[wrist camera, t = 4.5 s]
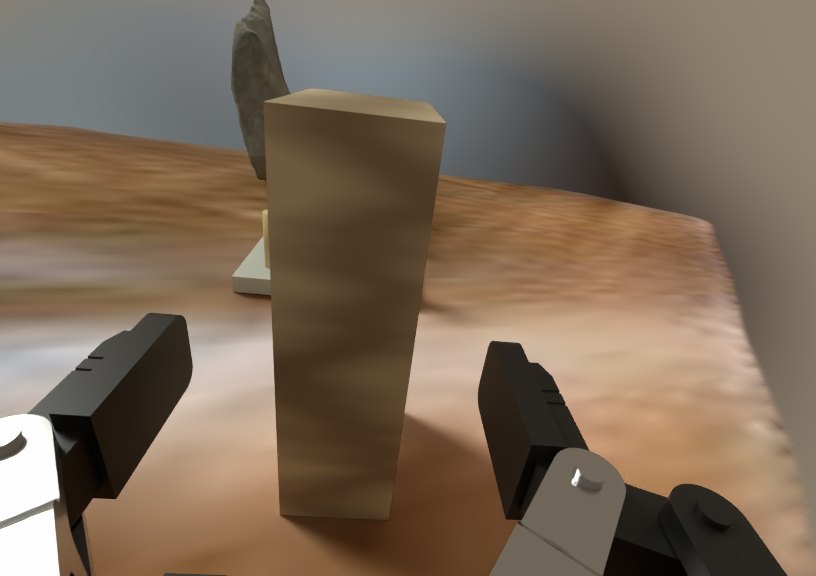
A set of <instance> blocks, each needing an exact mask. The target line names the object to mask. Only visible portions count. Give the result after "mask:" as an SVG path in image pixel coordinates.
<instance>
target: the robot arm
mask: <svg viewBox="0 0 816 576" xmlns="http://www.w3.org/2000/svg"><path fill="white" fill-rule="evenodd" d="M192 368H193V365H192V357H191V350H190V344H189V337H188V331H187V324H186V320H185V318H184V317H183V316H182V315H172V314H159V313H149V314H147V315H146V316H145V317H144V318H143V319H142V320H141V321H140V322H139V323H138V324H137V325H136V326H135V327H134V328H133V329H132V330H131V331H122V332H121V333H119V334H117V335H115V336H113V337H111V338H109V339H107V340H106V341H104V342H102V343H101V344H100V345H99V346H98V347H97V348H96V349H95V350H94V351H93V352H92V353H91V354H90V355H89V356H88V359H84V360H83V361H82V362H81V363H80V364H79V365H78V366H77V367H76V370H75V371H72V372H71V373H70V374H69V375H68V376H67V377H66V378H64V379H63V380H62V381H61V382H60V383H59V384H58V385H57V386H56V387H55V388H54V389H53V390H52V391H51V392H50V393H49V394H48V395H47V396H46V397H45V398H43V399H42V400H41V401H40V402H39V403H38V404H37V405H36V406H35V407H34V408H33V409H32V410H31V411H30V412H29V413H28V414H25V415H16V416H10V417H6V418H3V419H0V576H95V571H94V565H93V558H92V552H91V546H90V540H89V533H88V527H87V521H86V517H85V514H84V510H85V509H86V507H87V506H88V504H89V503H90V502H91V500H92V499H93V498H103V499H116V498H117V497H118V495H119V494H120V492H121V490H122V489H123V487H124V486H125V484H126V483H127V481H128V480H129V478H130V476H131V475H132V473H133V472H134V470H135V469H136V467H137V466H138V464H139V462H140V461H141V459H142V458H143V456H144V455H145V453H146V452H147V450H148V448H149V447H150V445H151V444H152V442H153V441H154V439H155V437H156V436H157V434H158V433H159V431H160V430H161V428H162V427H163V425H164V423H165V422H166V420H167V419H168V417H169V416H170V414H171V413H172V411H173V409H174V408H175V406H176V405H177V403H178V402H179V400H180V398H181V397H182V395H183V394H184V392H185V391H186V389H187V387H188V385H189V383H190V380H191V376H192ZM478 406H479V411H480V415H481V419H482V423H483V428H484V432H485V436H486V440H487V444H488V448H489V452H490V456H491V460H492V465H493V469H494V473H495V477H496V481H497V485H498V489H499V493H500V498H501V502H502V506H503V510H504V514H505V518H506V519H509V520H522V521H521V522H520V521H519V522H518V523H517V525H516V526H515V528H514V530H513V532H512V534H511V535H510V537H509V539H508V541H507V543H506V545H505V547H504V549H503V551H502V553H501V554H500V556H499V558H498V560H497V562H496V564H495V566H494V568H493V570H492V571H491V573H490V575H489V576H787V575H786V573H785V572H784V570H783V569H782V568H781V566H780V565H779V563H778V562H777V561H776V559H775V558H774V556H773V555H772V554H771V552H770V551H769V549H768V548H767V547H766V545H765V544H764V542H763V541H762V540H761V538H760V537H759V535H758V534H757V533H756V531H755V530H754V528H753V527H752V526H751V524H750V523H749V521H748V520H747V519H746V517H745V516H744V515H743V514H742V513H741V512H740V511H739V510H738V509H737V508H736V507H735V506H734V505H733V504H732V503H731V502H729V501H728V500H726V499H725V498H724V497H722V496H721V495H719V494H717V493H715V492H713V491H712V490H709V489H707V488H705V487H702V486H698V485H694V484H681V485H678V486H676V487H675V488H674V489H673V490H672V492H671V493H670V495H669V497H668V498H667V497H664V496H661V495H658V494H655V493H651V492H648V491H645V490H642V489H639V488H636V487H633V486H631V485H628V484H626V483H624V481H623V479H622V477H621V475H620V474H619V472H618V471H617V470H616V469H615V467H614V466H613V465H611V464H610V463H609V462H608V461H607V460H605V459H604V458H603V457H601V456H599V455H597V454H595V453H593V452H591V451H589V449H588V447H587V445H586V443H585V441H584V439H583V437H582V435H581V433H580V431H579V429H578V427H577V425H576V423H575V421H574V419H573V417H572V415H571V413H570V411H569V409H568V407H567V406H565V401H564V399H563V397H562V395H561V394H559V389H558V387H557V385H556V383H555V381H554V379H553V377H552V376H551V375H550V374H549V373H548V372H547V371H546V370H545V369H544V368H543V367H542V366H541V365H540V364H539V363H530V362H529V361H528V359H527V357H526V355H525V352H524V350H523V348H522V346H521V344H520V343H511V342H499V341H491V343H490V344H489V347H488V351H487V355H486V359H485V363H484V367H483V371H482V375H481V379H480V383H479V389H478ZM164 576H226V575H201V574H173V573H165V574H164Z"/></svg>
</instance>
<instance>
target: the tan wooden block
mask: <svg viewBox="0 0 816 576" xmlns="http://www.w3.org/2000/svg"><path fill="white" fill-rule="evenodd" d="M263 107H264V132H265V157H266V181H267V206H268V231H269V256H270V281H271V306H272V330H273V355H274V380H275V405H276V430H277V455H278V479H279V504H280V515H290V516H310V517H331V518H351V519H371V520H389V515H390V508H391V501H392V494H393V487H394V480H395V473H396V467H397V460H398V453H399V446H400V439H401V432H402V425H403V418H404V411H405V404H406V397H407V391H408V384H409V377H410V370H411V363H412V356H413V349H414V342H415V335H416V328H417V322H418V315H419V308H420V301H421V294H422V287H423V280H424V273H425V266H426V259H427V253H428V246H429V239H430V232H431V225H432V218H433V211H434V204H435V197H436V190H437V184H438V177H439V170H440V163H441V156H442V149H443V142H444V134H445V128H446V122H445V121H444V120H443V119H442V118H441V117H440V116H439V114H438V113H437V112H436V111H435V110H434V108H433V107H432V106H431V105H430V104H429V103H428V102H420V101H412V100H404V99H396V98H387V97H379V96H371V95H362V94H354V93H346V92H338V91H330V90H322V89H313V88H312V89H308V90H304V91H301V92H297V93H293V94H289V95H286V96H282V97H278V98H275V99H271V100H267V101H264V102H263Z"/></svg>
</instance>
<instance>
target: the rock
mask: <svg viewBox="0 0 816 576" xmlns="http://www.w3.org/2000/svg"><path fill="white" fill-rule="evenodd" d="M231 89H232V92H233V96H234V100H235V102H236V105H237V111H238V117H239V124H240V128H241V131H242V134H243V138H244V143H245V146H246V148H247V152H248V155H249V158H250V162H251V164H252V166H253V168H254V170H255V173H256V175H257V178H258V179H259V180H265V181H266V157H265V132H264V107H263V102H264V101H267V100H271V99H275V98H278V97H282V96H286V95H289V94H291V93H290V92H289V90H288V87H287V85H286V83H285V80H284V76H283V72H282V68H281V64H280V60H279V56H278V51H277V46H276V42H275V37H274V32H273V27H272V22H271V18H270V10H269V7H268V5H267V3H266V2H265V0H254V4H253V7H251V9H250V12H249V13H248V14H247V15H246V17H245V18H243V19H242V20H241V22H237V23H236V24H235V30H234V38H233V48H232V72H231ZM266 182H267V181H266Z"/></svg>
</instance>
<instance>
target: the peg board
mask: <svg viewBox="0 0 816 576" xmlns="http://www.w3.org/2000/svg"><path fill="white" fill-rule="evenodd" d="M263 234H264V236H263V237H262V238H261V240H260V241H259V242H258V244H257V245H256V246H255V247H254V249H253V250H252V251H251V252H250V254H249V255H248V256H247V258H246V259H245V260H244V261H243V263H242V264H241V265H240V267H239V268H238V269H237V270H236V272H235V273H234V274H233V275H232V284H233V292H240V293H252V294H263V295H271V281H270V256H269V231H268V209H267V210H264V211H263Z"/></svg>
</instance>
